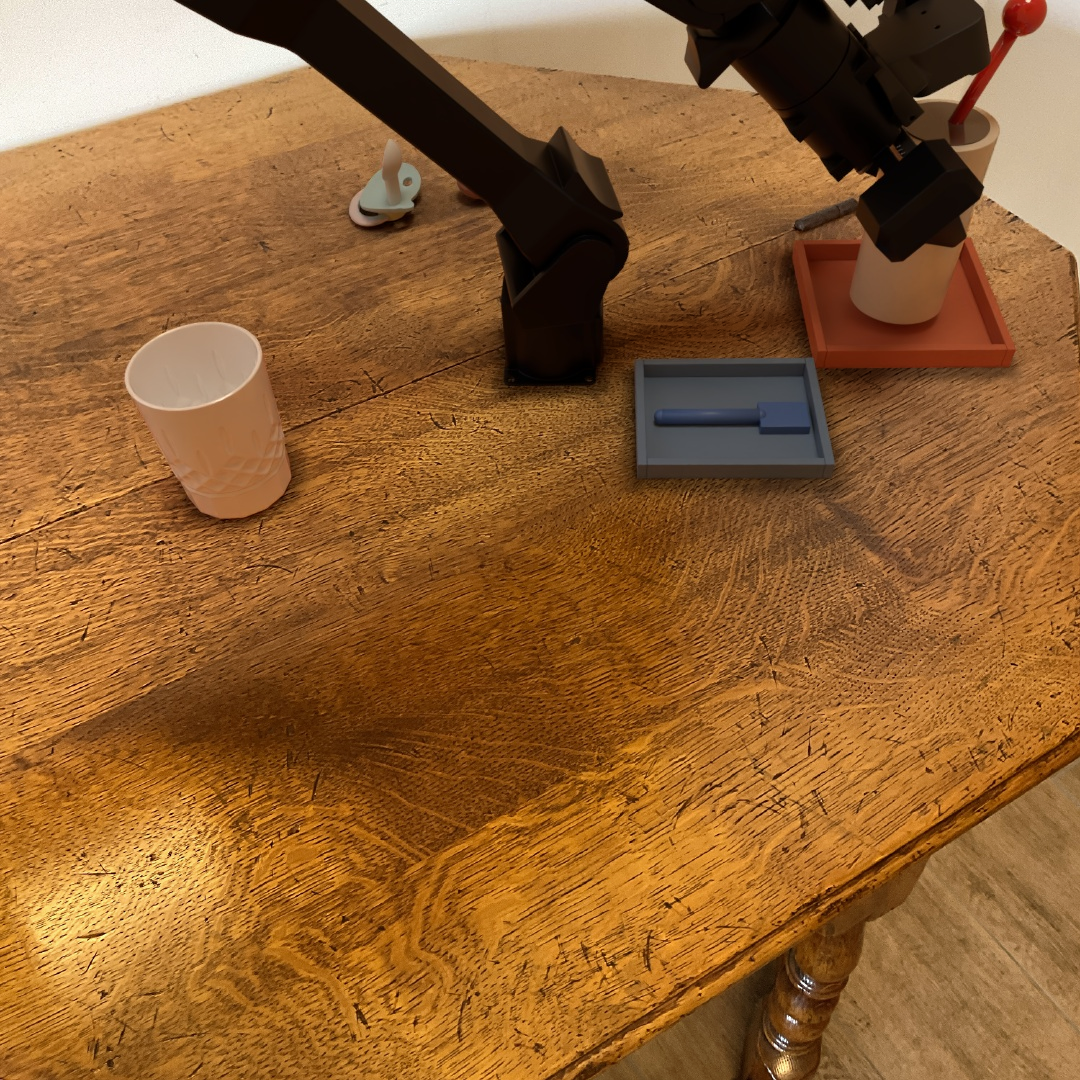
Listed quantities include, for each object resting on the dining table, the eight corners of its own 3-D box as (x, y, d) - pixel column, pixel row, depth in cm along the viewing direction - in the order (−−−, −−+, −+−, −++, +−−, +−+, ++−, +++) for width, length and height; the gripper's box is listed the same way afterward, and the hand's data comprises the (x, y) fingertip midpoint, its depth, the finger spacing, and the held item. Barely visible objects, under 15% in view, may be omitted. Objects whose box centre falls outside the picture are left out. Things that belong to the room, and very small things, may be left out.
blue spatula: (654, 434, 66) (654, 423, 65) (653, 409, 67) (653, 398, 67) (809, 434, 65) (811, 423, 64) (804, 409, 67) (807, 397, 66)
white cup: (197, 544, 62) (141, 428, 55) (167, 466, 67) (111, 348, 59) (317, 498, 64) (279, 379, 57) (279, 425, 69) (239, 306, 61)
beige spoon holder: (868, 329, 70) (948, 27, 54) (836, 275, 74) (902, -21, 59) (970, 316, 71) (1079, 13, 55) (933, 263, 75) (1024, -33, 59)
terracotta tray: (813, 373, 70) (818, 350, 68) (791, 262, 78) (795, 239, 77) (1007, 371, 69) (1016, 349, 67) (963, 259, 77) (971, 237, 76)
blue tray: (636, 483, 64) (637, 464, 63) (634, 377, 70) (634, 358, 69) (830, 483, 63) (835, 464, 62) (809, 376, 70) (813, 357, 68)
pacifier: (342, 234, 84) (412, 234, 83) (324, 165, 79) (398, 164, 78) (361, 187, 88) (427, 186, 88) (345, 119, 84) (414, 117, 83)
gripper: (1001, 21, 48) (1125, 201, 57) (864, -109, 60) (985, 56, 69) (815, 189, 54) (955, 328, 63) (724, 39, 66) (852, 174, 75)
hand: (938, 212), depth 67 cm, fingers closed on beige spoon holder, 6 cm apart
